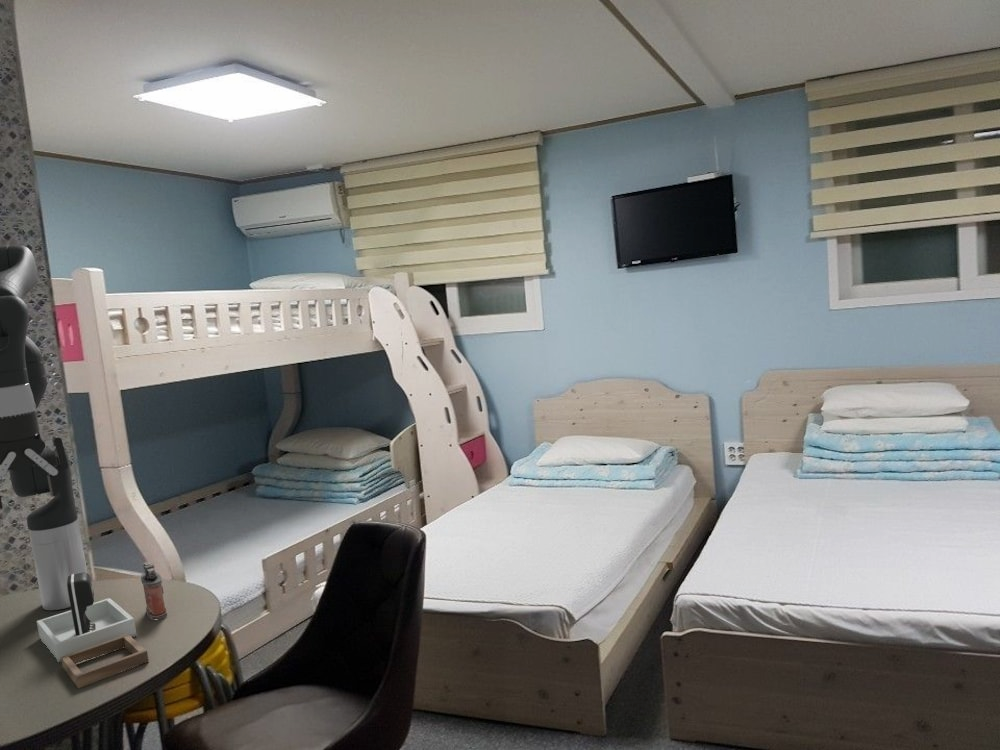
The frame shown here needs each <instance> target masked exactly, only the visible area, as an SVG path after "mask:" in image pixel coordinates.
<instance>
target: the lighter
mask: <svg viewBox="0 0 1000 750" xmlns="http://www.w3.org/2000/svg"><path fill="white" fill-rule="evenodd" d="M142 566H143V570H144V572H143V573H142V574H141V575H140V581H141V584H142V585H143V592H144V598H145V605H146V607H145V610H146V615H147V617H148V616H149V617H150V618H152V619H161V618H164V617H166V616H167V617H168V611H167V607H166V604H165V600H164V599H165V598H164V586H163V585H162V584H163V582H162V576H161V574H159V572H156V568H155V565H154V563H152V564H151V563H150V562H149V561H145V562H143V565H142ZM149 617H148V618H149ZM167 617H166V618H167ZM150 618H149V619H150ZM152 619H151V620H152ZM164 619H165V618H164ZM161 620H162V619H161Z"/></svg>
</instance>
